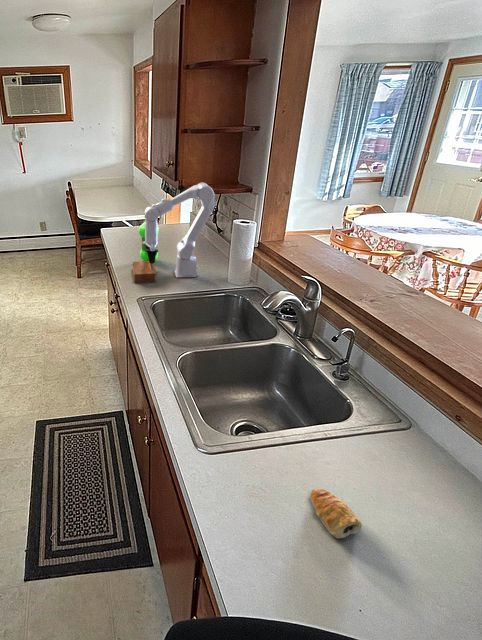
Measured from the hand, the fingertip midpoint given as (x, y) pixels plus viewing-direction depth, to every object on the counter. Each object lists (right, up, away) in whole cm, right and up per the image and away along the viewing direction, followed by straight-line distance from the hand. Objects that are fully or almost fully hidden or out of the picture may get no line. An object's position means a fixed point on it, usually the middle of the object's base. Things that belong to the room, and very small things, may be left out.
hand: (151, 260), depth 187 cm
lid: (-3, -4, +2) cm, 5 cm away
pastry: (+25, -57, -109) cm, 126 cm away
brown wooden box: (-3, -8, +3) cm, 9 cm away
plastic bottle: (+1, +1, +22) cm, 22 cm away
